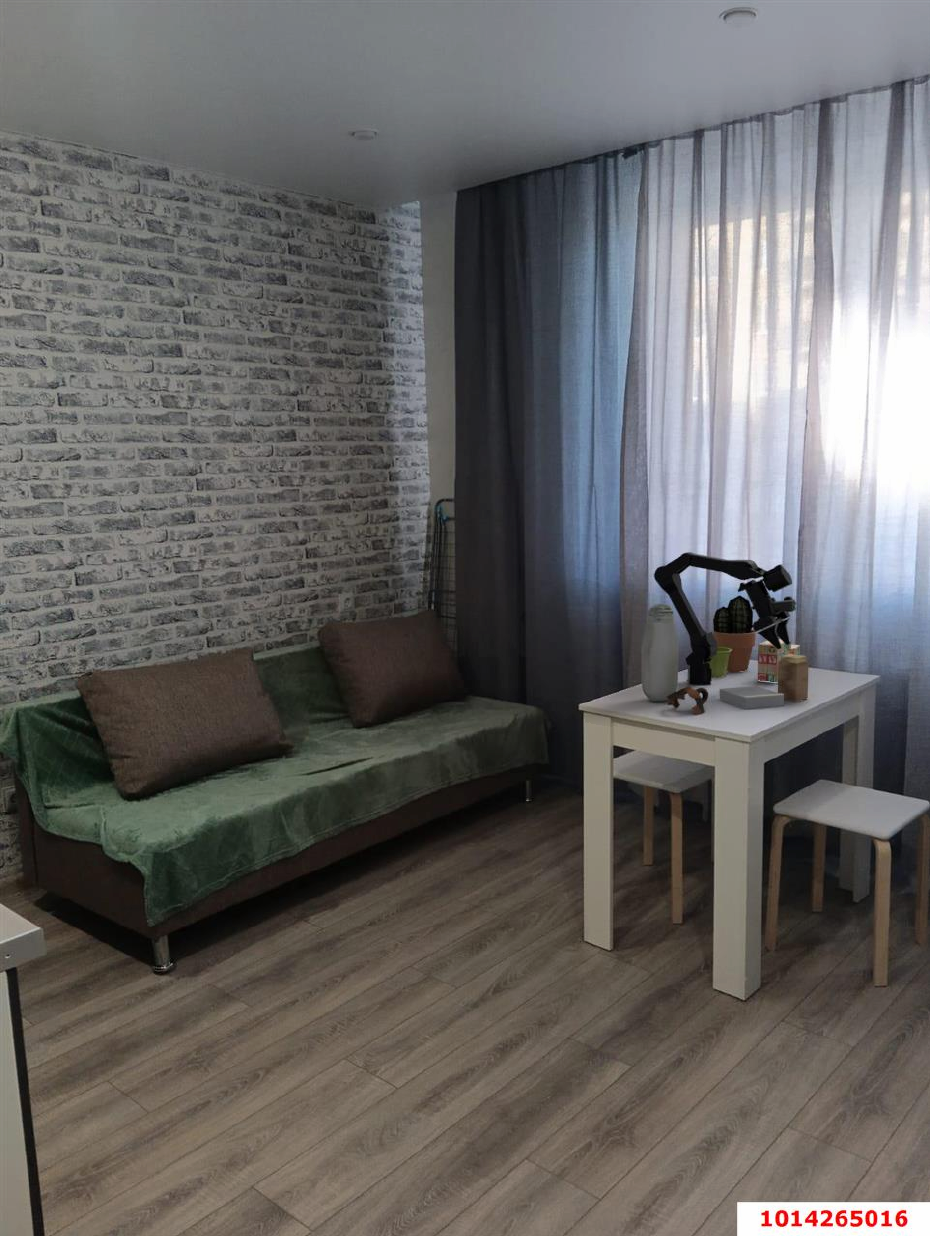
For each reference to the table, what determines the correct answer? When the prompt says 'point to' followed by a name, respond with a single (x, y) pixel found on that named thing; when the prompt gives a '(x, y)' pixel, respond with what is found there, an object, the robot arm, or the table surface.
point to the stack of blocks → (772, 659)
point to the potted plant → (735, 632)
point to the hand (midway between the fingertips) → (784, 646)
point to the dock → (751, 697)
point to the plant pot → (720, 662)
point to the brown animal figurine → (692, 693)
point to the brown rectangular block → (793, 677)
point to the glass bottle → (660, 654)
